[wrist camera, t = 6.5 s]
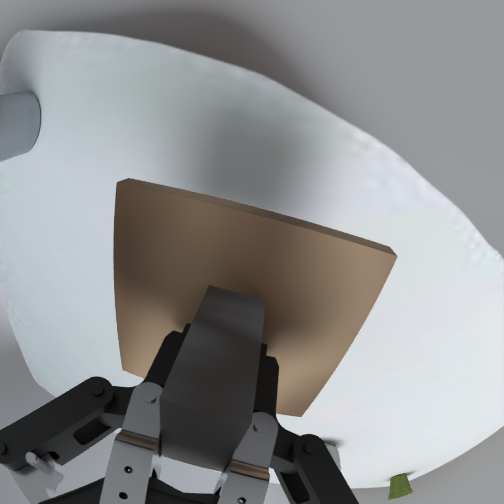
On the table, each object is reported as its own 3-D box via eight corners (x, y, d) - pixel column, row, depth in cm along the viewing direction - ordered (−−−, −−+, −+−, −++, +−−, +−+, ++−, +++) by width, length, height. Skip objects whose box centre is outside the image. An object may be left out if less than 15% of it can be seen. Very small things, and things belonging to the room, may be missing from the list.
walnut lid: (128, 359, 16) (83, 440, 10) (128, 178, 11) (4, 233, 5) (300, 405, 16) (300, 497, 10) (389, 247, 11) (469, 356, 5)
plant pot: (404, 476, 75) (406, 495, 65) (382, 481, 76) (383, 501, 66) (415, 469, 69) (418, 489, 59) (391, 475, 71) (393, 496, 61)
